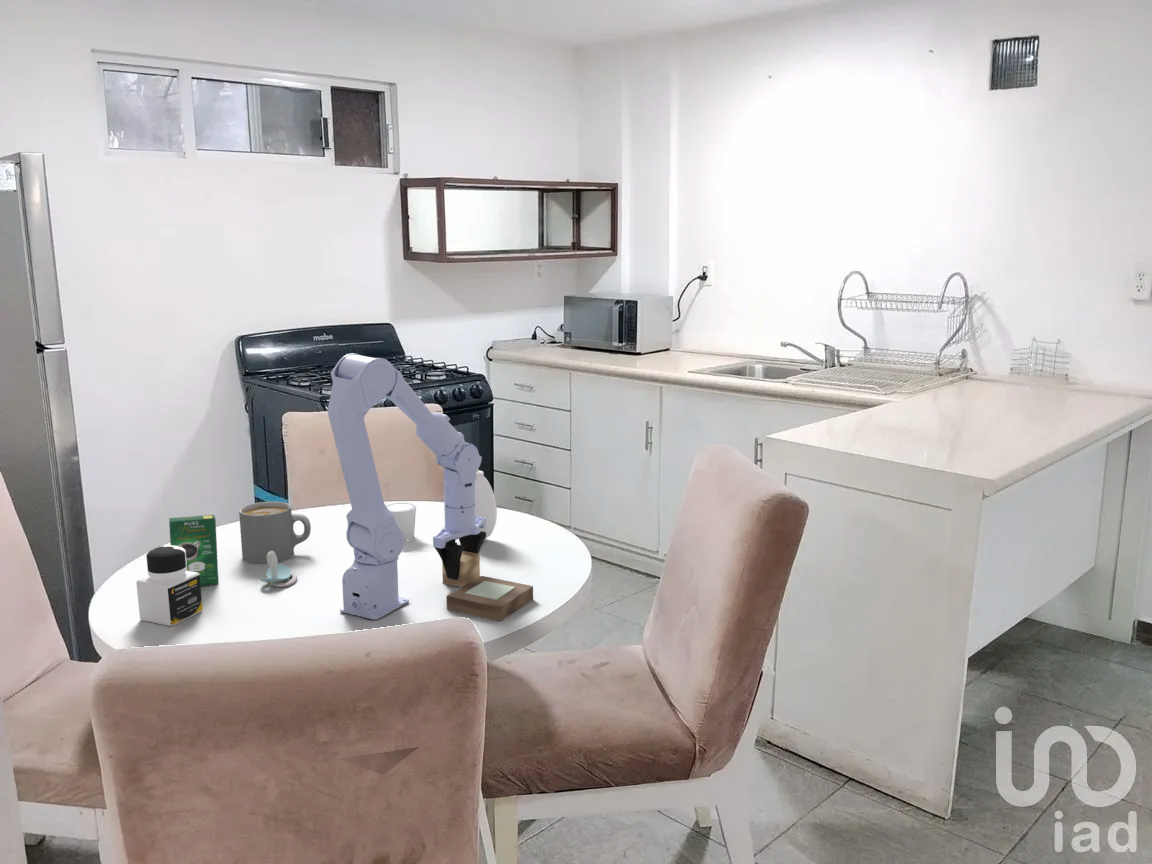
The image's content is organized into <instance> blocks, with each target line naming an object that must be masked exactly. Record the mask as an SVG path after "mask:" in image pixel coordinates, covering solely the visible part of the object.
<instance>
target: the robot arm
mask: <svg viewBox="0 0 1152 864" xmlns="http://www.w3.org/2000/svg"><path fill="white" fill-rule="evenodd" d="M330 376H331V380H332V386H331V391H330V397H329V403H328V407H327V414H328V415H327V416H328V420H329V423H330V427H331V431H332V435H333V439H334V443H335V446H336V450H337V455H338V459H339V463H340V466H341V470H342V474H343V479H344V481H345V486H346V489H347V490H346V491H347V493H348V494H347V495H348V498H349V502H350V506H351V509H350V511H348V512H347V514H346V521H347V530H346V540H347V543H348V544H349V546H350V548H352V549H353V555H354V561H353V563H352V564H351V566H350V567H349V568H347V569H346V570H345V571H344V573H343V575H342V581H341V583H342V599H343V600H342V603H343V605H342V606H343V607H340V608H339V612H341V613H344V614H348V615H349V614H350V615H352V616H356V615H357V616H356V617H360V616H361V618H364V617H365V618H366V619H369V620H373V621H375V620H376V619H377V620H379V619H380V618H382V617H384V616H386V615H388V614H389V613H391V612H394V611H395V610H397V609H398V608H401V607H402V606H404V605H406V604H407V603H409V602H410V599H409V598H407V597H402V596H399V575H398V574H399V573H398V560H399V556H400V555H401V553H402V552H403V550H404V547H405V543H406V541H405V539H404V534H403V532H402V531H401V530H400V529H399V528H398V526H397V525H396V522H395V518H394V516H393V515H392V513H391V512H390V511H389V509H388V508H387V507H386V506H387V505H386V504H385V501H384V497H383V494H382V490H381V489H382V488H381V486H380V485H381V484H380V481H379V477H378V472H377V468H376V464H375V460H374V455H373V452H372V448H371V444H370V439H369V434H368V431H367V427H366V422H365V417H366V415H368V414H367V413H368V412H369V411H370V410H371V409H372V408H373V407H375V405H377V404H378V403H379V402H380V401H381V400H382V399H383V398H387V399H389V400H390V401H391V402H392V403H393V404H394V406H396V407H397V408H398V409H399V410H400V411H402V413H404V415H405V416H406V417H407V418H409V419H410V420H411V421H412V422H413V424H415V425H416V429H415V434H416V436H417V437H418V438H419V440H421V441H422V442H423V443H424V444H425V446H427V447H428V448H429V450H431V452H432V453H433V454H434V455H435V460H436V463H437V465H438V466H441V467H442V468H443V499H444V501H443V504H444V506H443V507H444V526H443V528H442V529H441V530H440V531H439V532H438V533H437V534H436V535H435V536H433V537H432V541H433V542H432V545H433V546H432V547H433V548H434V549H435V550H436V552H437V554H438V556H439V557H440V559H441V562H443V565H444V568H445V571H446V575H447V578H449V579H454V580H457V579H458V577H459V571H460V560H461V555H462V552H463V551H467V552H472V553H477V554H479V555H480V551H481V548H482V546H483V543H484V542H485V541H486V540H485V538H486V532H483V531H480V528H485V527H486V518H485V517H479V516H477V517H476V514H475V479H476V478H477V470H479V468H480V466H481V463H482V458H483V457H482V456H481V455H480V453H479V450H478V447H476V446H475V445H474V444H473V443H469V442H466V441H465V439H464V437H465V435H464V434H463V433H462V432H460V431H458V430H457V429H456V428H455V427H454V426H453V425H452V424H451V422H449V421H450V420H451V418H450V417H449V416H448V415H447V414H445V413H444V414H443V413H441V412H437V411H436V412H432V411H430V409H429V408H428V407H427V406H426V405H425V403H424V402H423V400H421V398H420V397H419V395H417V393H416V392H415V391H414V390H413V388H412V387H411V386H410V385H409V383H407V380H405V378H404V376H403V374H402V372H401V371H399V370H398V369H397V368H395V367H394V365H393V364H392V362H390V361H388V359H385V358H382V357H372V356H371V357H370V356H366V355H361V354H359V353H354V352H352V353H347V354H346V355H343V356H342V357H341V358H340V359H339V360H338V362H337V363H336V364H335V366H334V368H333V369H332V370H331V372H330ZM457 540H458V542H459V544H458V542H456V541H457ZM377 620H376V621H377Z"/></svg>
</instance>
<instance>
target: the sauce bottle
mask: <svg viewBox="0 0 1152 864" xmlns="http://www.w3.org/2000/svg"><path fill="white" fill-rule="evenodd" d="M484 475H485V474H484V471H483V470H479V469H478V470H477V478H476V479H475V514H476V517H477V516H479V517H485V518H486V527H485V528H480V531H483V532H486V538H485V540H484V541H486V540H487V539H488V537H490V536H491V535H492V533H493V532H494V530H495V527H496V524H497V516H498V509H497V501H496V496H495V494H494V491H493V488H492V486H491V484H490V482H489V481H488V479H487V477H485V476H484Z"/></svg>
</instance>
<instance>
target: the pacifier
mask: <svg viewBox="0 0 1152 864" xmlns="http://www.w3.org/2000/svg"><path fill="white" fill-rule="evenodd" d="M266 559H267V563H268V566H269V568H268V569H267V570H266V573H265V576H266V577H265V578H260V581H261V582H264V583H265V582H266V583H267V582H268V584H269V586H271V587H277V588H286V587H289V586H292V585H294V583H295V582H296V581H297V580H298V576H297V575H296V574H294V573H292V571H291V569H290V568H289V566H287V565H285V564H281V563H279V562H278V560H277V556H276V554H275V552H274V551H270V552H269V553H268V554H267V557H266ZM289 578H290V580H289V581H286V582H284V581H285V580H288V579H289Z"/></svg>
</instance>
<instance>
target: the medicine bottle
mask: <svg viewBox="0 0 1152 864" xmlns="http://www.w3.org/2000/svg"><path fill="white" fill-rule="evenodd" d="M146 565H147V576H145V577H142V578H140V579H137V580H136V582H135V583H136V591H137V603H138V613H139V620H140V621H143V622H149V623H151V624H152V623H153V624H159V625H161V626H162V625H163V626H169V627H173V626H175V625H178V624H180V623H181V622H184V621H186V620H188V619H190V618H192V617H194V616H196V615H198V614H200V613H202V612H203V599H202V589H201V588H202V586H201V585H200V574H199V573H197V572H191V571H187V561H186V550H185V549H184V548H182V547H179V546H174V545H171V544H170V545H161V546H158V547H155V548H153V549H151V550H149V551H148V553H147V554H146Z"/></svg>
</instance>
